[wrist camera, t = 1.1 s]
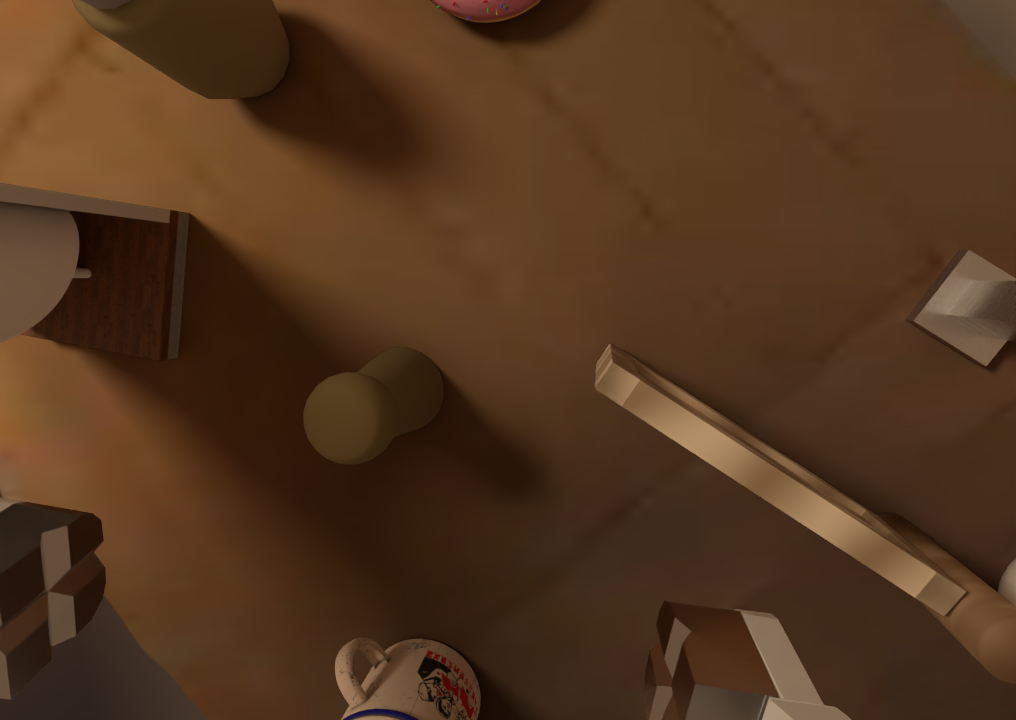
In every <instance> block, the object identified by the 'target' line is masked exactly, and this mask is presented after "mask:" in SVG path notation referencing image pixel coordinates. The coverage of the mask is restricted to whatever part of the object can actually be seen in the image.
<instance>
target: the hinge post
mask: <svg viewBox="0 0 1016 720" xmlns="http://www.w3.org/2000/svg"><path fill="white" fill-rule="evenodd" d="M877 515H878V516H879V517H880V518H881V519H882V520H883V521H885V522H886V523H887V524H888V525H889V526H890V527H892V528H893V529H894V530H895V531H896V532H897V533H899V534H900V535H901V536H902V537H903V538H904V539H906V540H907V541H908V542H909V543H910V544H911V545H913V546H914V547H915V548H916V549H917V550H918V551H920V552H921V553H922V554H923V555H924V556H925V557H927V558H928V559H929V560H930V561H931V562H932V563H934V564H935V565H936V566H937V567H938V568H939V569H941V570H942V571H943V572H944V573H945V574H946V575H948V576H949V577H950V578H951V579H952V580H953V581H955V582H956V583H957V584H958V585H959V586H960V587H962V588H963V589H964V590H965V591H966V592H965V594H964V595H963V596H962V597H961V598H960V599H959V600H958V601H957V603H956V604H955V605H954V606H953V607H952V608H951V609H950V611H949V612H948V613H947V614H946V615H945V616H942V615H941V614H939V613H938V612H936V611H935V610H933V609H932V608H930V607H929V606H927V605H926V604H924V603H922V602H921V601H920V602H921V604H922V605H923V606H924V607H925V608H926V609H927V610H928V611H929V612H930V613H931V614H932V615H933V616H934V617H935V618H936V619H937V620H938V621H939V622H940V623H941V624H942V625H943V626H944V627H945V628H946V629H947V630H948V631H949V632H950V633H951V634H952V635H953V636H954V637H955V638H956V639H957V640H958V641H959V642H960V643H961V644H962V645H963V646H964V647H965V648H966V649H967V650H968V651H969V652H970V653H971V654H972V655H973V656H974V657H975V658H976V659H977V660H978V661H979V662H980V663H981V664H982V665H983V666H984V667H985V668H986V669H987V670H988V671H989V672H990V673H991V674H992V675H993V676H994V677H996V678H997V679H999V680H1001V681H1004V682H1007V683H1012V684H1016V607H1015V606H1014V605H1013V604H1012V603H1010V602H1009V601H1008V600H1007V599H1005V598H1004V597H1003V596H1002V595H1000V594H999V593H998V592H996V591H995V590H994V589H993V588H991V587H990V586H989V585H988V584H986V583H985V582H984V581H983V580H981V579H980V578H979V577H978V576H976V575H975V574H974V573H972V572H971V571H970V570H969V569H967V568H966V567H965V566H964V565H962V564H961V563H960V562H959V561H957V560H956V559H955V558H954V557H952V556H951V555H950V554H948V553H947V552H946V551H945V550H943V549H942V548H941V547H940V546H938V545H937V544H936V543H935V542H933V541H932V540H931V539H929V538H928V537H927V536H926V535H924V534H923V533H922V532H921V531H919V530H918V529H917V528H916V527H914V526H913V525H912V524H911V523H909V522H908V521H907V520H905V519H904V518H903V517H901V516H900V515H897V514H894V513H880V514H877Z"/></svg>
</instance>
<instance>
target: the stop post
mask: <svg viewBox="0 0 1016 720" xmlns="http://www.w3.org/2000/svg"><path fill="white" fill-rule="evenodd" d="M906 321H908V322H910V323H911V324H913V325H914V326H916V327H918V328H919V329H921V330H922V331H924V332H926V333H927V334H929V335H930V336H932V337H934V338H935V339H937V340H938V341H940V342H942V343H943V344H945V345H946V346H948V347H950V348H951V349H953V350H954V351H956V352H958V353H959V354H961V355H962V356H964V357H966V358H967V359H969V360H970V361H972V362H974V363H975V364H977V365H982V366H987V365H988V364H989V363H990V361H991V360H992V359H993V358H994V356H995V355H996V354H997V353H998V352H999V350H1000V349H1001V348H1002V347H1003V345H1004V344H1005V343H1006V342H1007V340H1008V341H1015V342H1016V278H1014V277H1012V276H1011V275H1009V274H1007V273H1006V272H1004V271H1002V270H1001V269H999V268H998V267H996V266H994V265H993V264H991V263H989V262H988V261H986V260H985V259H983V258H981V257H980V256H978V255H976V254H975V253H973V252H971V251H970V250H962V251H959V252H958V253H957V254H956V256H955V257H954V258H953V260H952V261H951V262H950V263H949V265H948V266H947V267H946V269H945V270H944V271H943V272H942V274H941V275H940V276H939V278H938V279H937V280H936V282H935V283H934V284H933V285H932V287H931V288H930V289H929V291H928V292H927V293H926V294H925V296H924V297H923V298H922V300H921V301H920V302H919V303H918V305H917V306H916V307H915V309H914V310H913V311H912V313H911V314H910V315H909V316H908V318H907V319H906Z"/></svg>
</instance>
